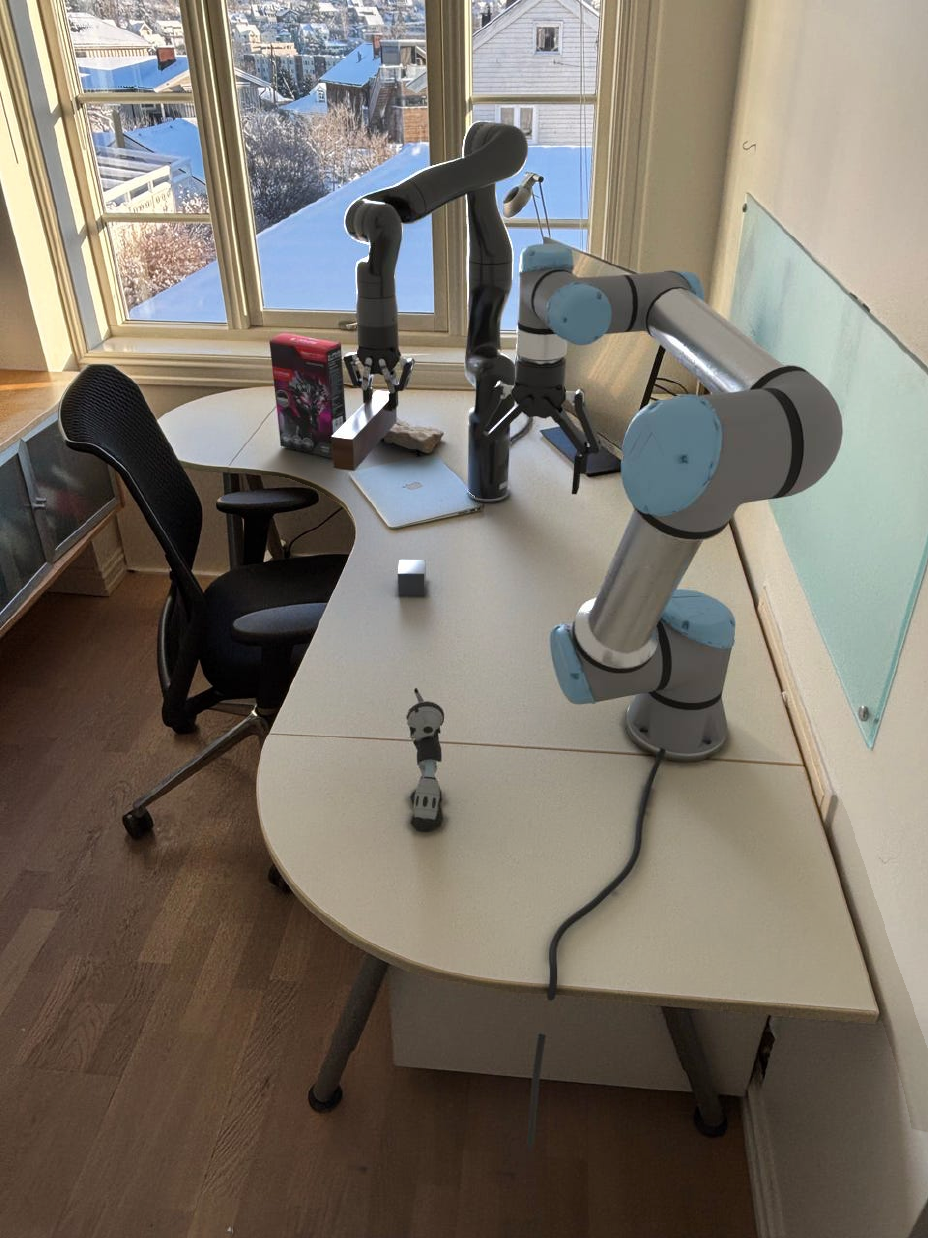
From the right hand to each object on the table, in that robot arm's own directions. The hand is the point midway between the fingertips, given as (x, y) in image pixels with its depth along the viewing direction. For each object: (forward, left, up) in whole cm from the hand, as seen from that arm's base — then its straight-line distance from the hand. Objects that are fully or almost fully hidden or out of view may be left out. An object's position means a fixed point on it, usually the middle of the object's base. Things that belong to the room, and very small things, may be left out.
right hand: (533, 485), depth 149 cm
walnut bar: (+17, +35, -4) cm, 40 cm away
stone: (+74, +49, -29) cm, 93 cm away
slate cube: (+8, +24, -29) cm, 38 cm away
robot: (-47, +4, -29) cm, 55 cm away
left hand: (+26, +36, 0) cm, 44 cm away
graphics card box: (+64, +68, -29) cm, 98 cm away
